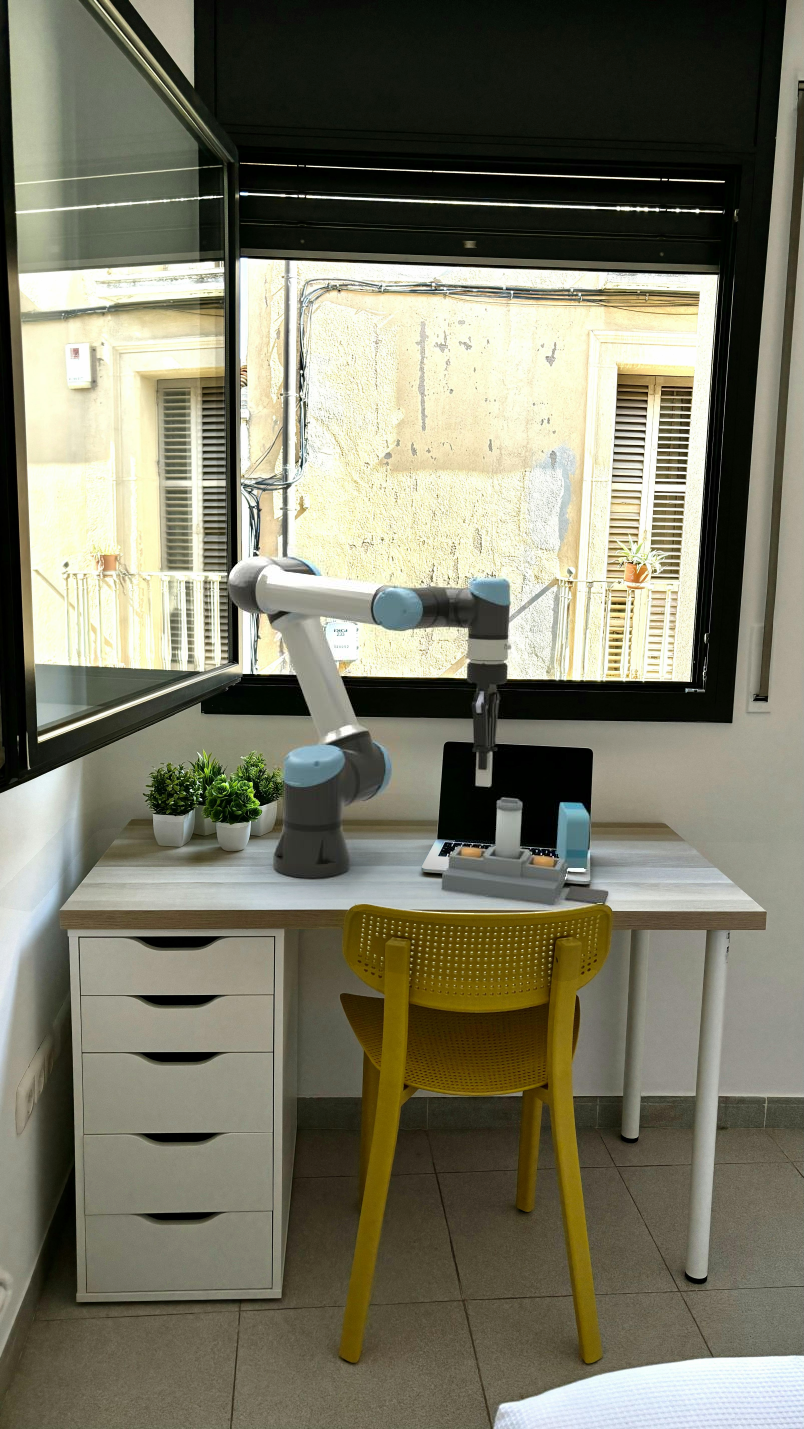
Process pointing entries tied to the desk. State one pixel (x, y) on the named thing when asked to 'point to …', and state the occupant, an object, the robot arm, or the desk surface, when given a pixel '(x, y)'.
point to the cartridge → (508, 828)
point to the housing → (505, 876)
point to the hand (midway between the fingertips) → (483, 785)
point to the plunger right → (543, 861)
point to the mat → (586, 895)
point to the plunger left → (471, 852)
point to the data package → (573, 834)
